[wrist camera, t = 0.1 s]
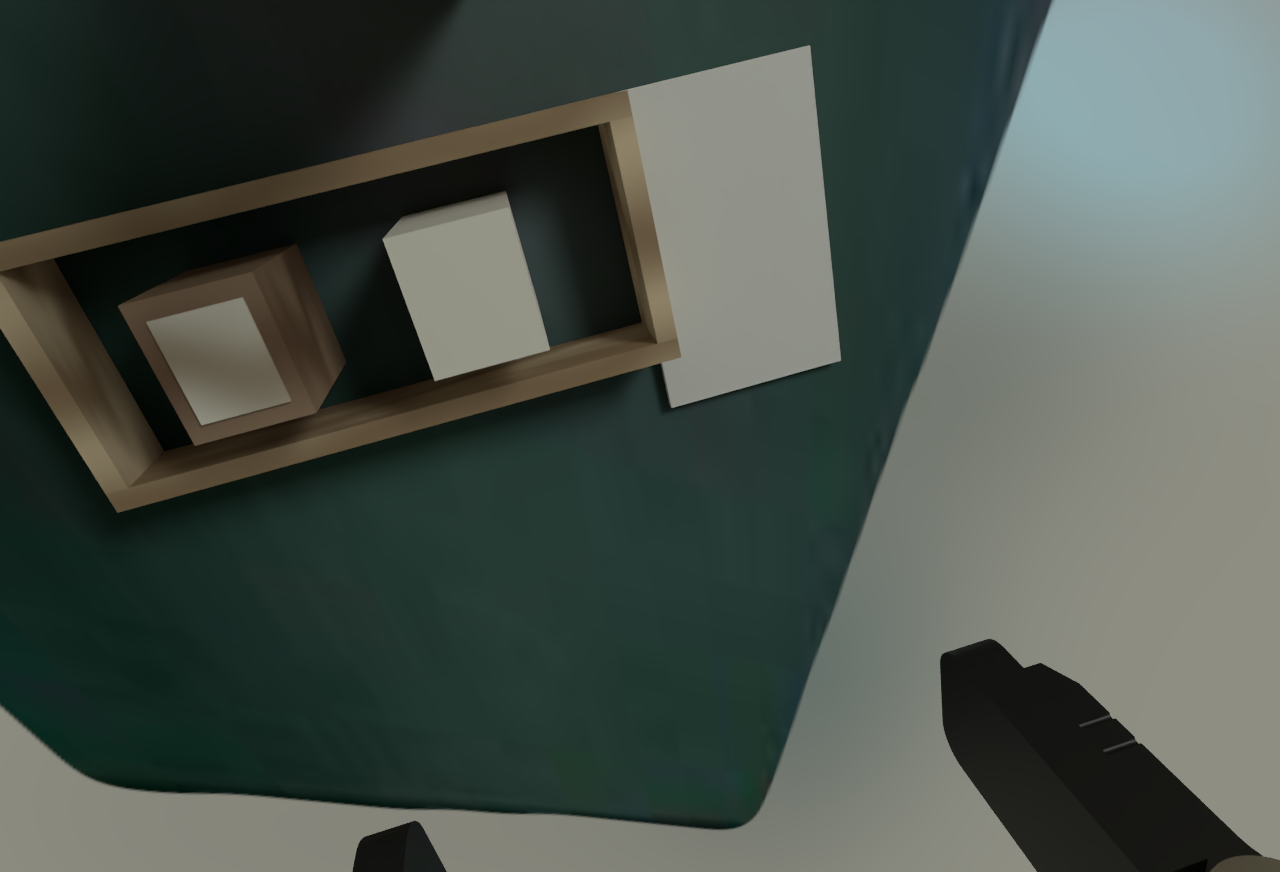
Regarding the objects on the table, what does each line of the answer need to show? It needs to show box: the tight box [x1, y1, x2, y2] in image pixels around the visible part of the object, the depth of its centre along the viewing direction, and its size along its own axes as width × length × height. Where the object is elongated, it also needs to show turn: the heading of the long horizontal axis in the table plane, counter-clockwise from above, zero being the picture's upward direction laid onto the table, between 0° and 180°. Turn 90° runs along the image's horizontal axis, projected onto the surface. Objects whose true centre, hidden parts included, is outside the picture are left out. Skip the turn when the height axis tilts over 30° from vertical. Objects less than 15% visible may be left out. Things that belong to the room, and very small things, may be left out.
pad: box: [619, 45, 841, 408], centre depth 37 cm, size 16×10×1 cm, turn 12°
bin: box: [0, 90, 681, 513], centre depth 33 cm, size 12×27×4 cm, turn 102°
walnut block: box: [118, 243, 346, 446], centre depth 31 cm, size 6×5×7 cm
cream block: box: [383, 191, 550, 381], centre depth 32 cm, size 6×5×7 cm
